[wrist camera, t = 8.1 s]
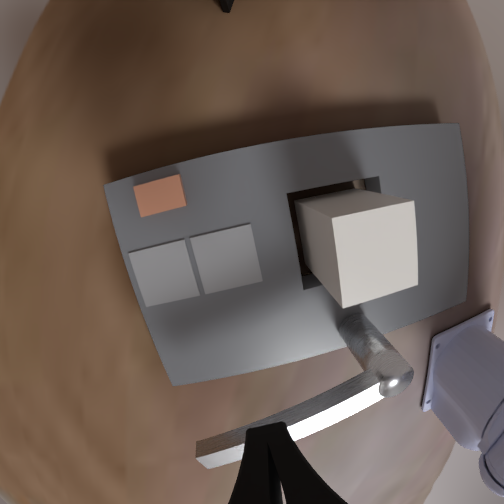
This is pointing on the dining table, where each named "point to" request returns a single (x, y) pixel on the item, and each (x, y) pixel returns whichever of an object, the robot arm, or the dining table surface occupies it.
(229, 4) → the speaker
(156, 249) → the power strip
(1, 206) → the dining table surface
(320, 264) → the plug
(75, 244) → the dining table surface
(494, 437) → the robot arm
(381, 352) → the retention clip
